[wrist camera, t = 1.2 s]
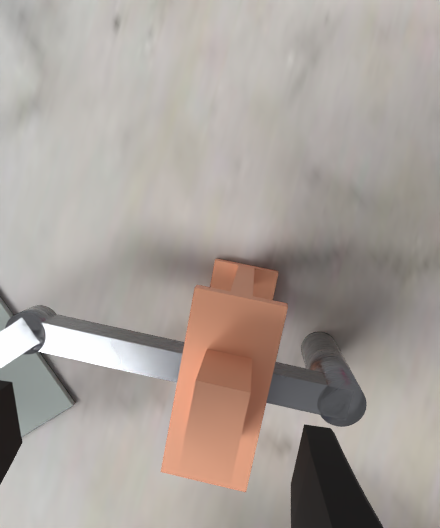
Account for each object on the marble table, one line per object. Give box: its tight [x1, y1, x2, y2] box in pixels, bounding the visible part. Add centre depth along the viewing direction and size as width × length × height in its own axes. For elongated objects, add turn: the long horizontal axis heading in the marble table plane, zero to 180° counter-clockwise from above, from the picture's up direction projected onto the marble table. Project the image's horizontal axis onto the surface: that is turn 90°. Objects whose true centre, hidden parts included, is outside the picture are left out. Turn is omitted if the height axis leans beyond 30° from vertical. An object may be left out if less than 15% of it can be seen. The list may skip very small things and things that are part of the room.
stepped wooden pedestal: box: [161, 258, 288, 492], centre depth 16 cm, size 3×7×10 cm, turn 169°
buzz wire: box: [0, 305, 366, 427], centre depth 19 cm, size 8×24×6 cm, turn 108°
